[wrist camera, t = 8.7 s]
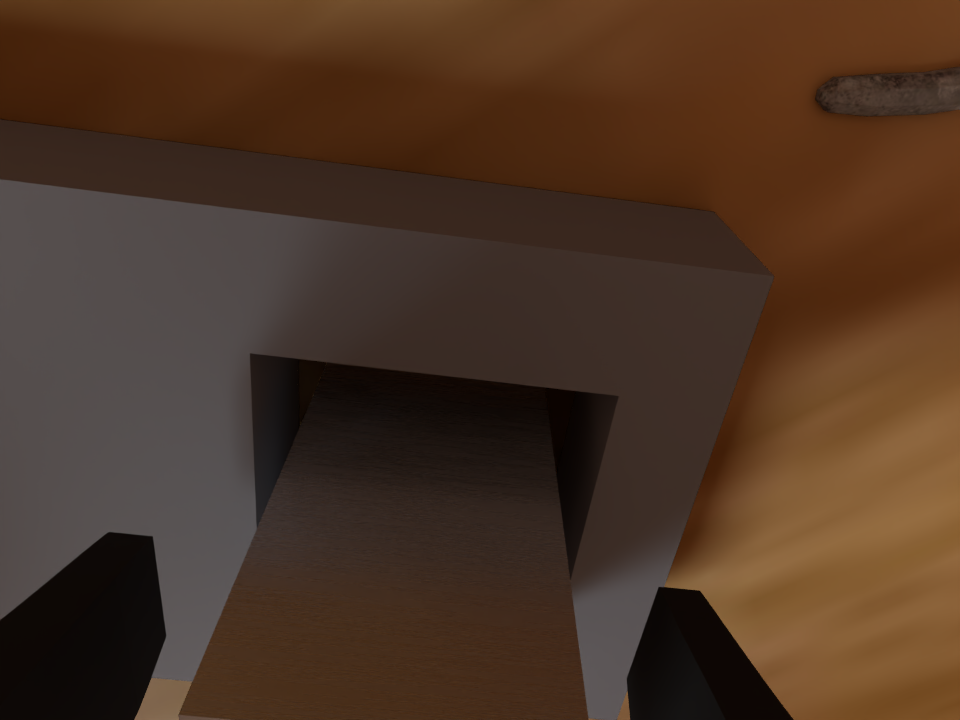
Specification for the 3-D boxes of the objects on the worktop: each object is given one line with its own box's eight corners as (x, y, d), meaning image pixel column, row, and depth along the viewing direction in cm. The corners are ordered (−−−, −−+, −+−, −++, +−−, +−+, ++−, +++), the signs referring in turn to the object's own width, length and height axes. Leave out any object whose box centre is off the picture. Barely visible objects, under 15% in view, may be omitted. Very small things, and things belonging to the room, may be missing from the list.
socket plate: (-162, 529, 16) (-288, 636, 14) (-357, 73, 11) (-612, 102, 9) (597, 606, 17) (616, 720, 14) (714, 212, 12) (774, 276, 10)
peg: (334, 492, 16) (207, 917, 9) (339, 334, 14) (177, 715, 7) (512, 511, 16) (528, 941, 9) (541, 357, 14) (592, 750, 7)
